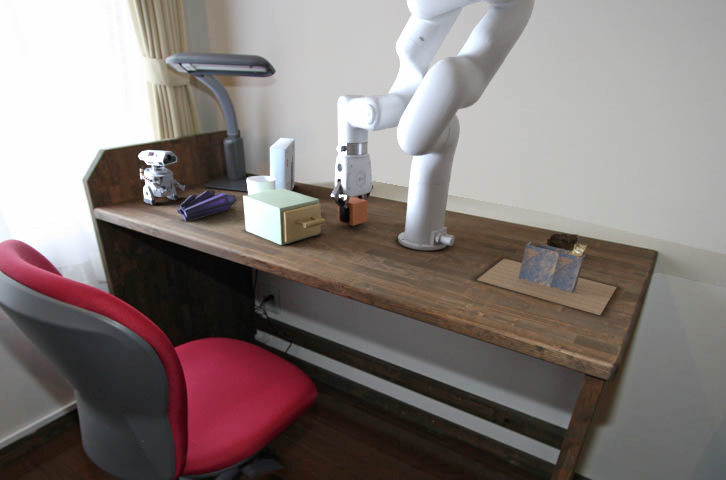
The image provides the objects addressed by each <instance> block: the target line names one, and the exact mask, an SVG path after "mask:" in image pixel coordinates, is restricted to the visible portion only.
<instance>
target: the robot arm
mask: <svg viewBox="0 0 726 480" xmlns="http://www.w3.org/2000/svg"><path fill="white" fill-rule="evenodd" d="M479 2H483V3H486V4H488V8H487V11H486V13H485V14H484V16H483V17H482V18H481V19H480V20H479V22H478V23H477V24H476V25H475V27H474V28H473V30H472V31H471V33H470V35H469V36H468V38H467V40H466V42H465V43H464V45H463V46H462V48H461V49H460V51H459V53H458V54H457V55H456V56H448V57H445V58H441V59H440V60H438V61H436V63H435V64H433V65H432V66H431V67H430V65H431V63H432V61H433V60H434V58H435V56H436V55H437V53H438V51H439V50H440V47H441V46H442V44H443V43H444V41H445V39H446V37H447V36H448V34H449V33H450V32H451V30H452V28H453V26H454V24H455V23H456V21H457V20H458V17H459V16H460V15H461V12H462V11H463V8H465V7H467V6H471V5H473V4H476V3H479ZM406 4H407V7H408V11H409V12H410V13H411V15H410V17H409V18H408V20H407V22H406V24H405V25H404V28H403V29H402V31H401V33H400V35H399V37H398V39H397V40H396V43H395V51H396V53H397V55H398V58H399V70H398V74H397V76H396V78H395V81H394V82H393V84H392V86H391V87H390V89H389V91H388V93H387V94H378V95H369V96H365V95H362V94H343V95H341V96H340V97H339V98H338V100H337V141H338V142H337V146H336V151H337V152H338V153H337V154H338V155H337V156H336V162H335V169H334V173H335V174H334V187H333V190H332V191H331V194H330V197H331V199H333V201H334V202H335V204H337V205H336V206H337V207H338V206H339V220H340V221H342V222H346V223H348V222H349V208H348V203H349V199H350V197H355V198H359V199H364V200H369V199H368V198H369V197H370V194H371V192H372V191H373V189H374V185H373V174H372V163H371V161H372V160H371V156H370V154H369V153H368V150H369V148H368V147H369V131H371V132H377V131H382V130H388V129H393V128H396V127H397V130H396V137H397V142H398V145H399V147H400V148H401V150H402V151H403V152H404V153H406V155H407V154H408V155H409V156H413V157H412V159H411V160H412V161H411V165H410V174H409V183H408V192H407V193H408V194H407V204H406V214H405V224H404V225H405V226H404V231H403V232H401V233H399V234H398V236H397V241H398V244H400V245H401V246H403V247H405V248H408V249H412V250H415V251H416V250H417V251H437V250H443V249H445V248H446V247H447V246H449V247H452V246H453V245H454V243H455V239H456V236H455V235H453V234H448V227H447V226H445V219H446V212H447V211H446V210H447V205H448V197H449V189H450V182H451V176H452V171H453V170H452V169H453V163H454V158H455V155H456V150H457V147H458V143H459V138H460V132H461V126H460V120H459V117H458V116H457V112H458V111H459V110H462V109H466V108H469V107H472V106H474V105H475V104H476V103H477V102H478V101H480V98H482V96H483V94H484V93H485V91H486V89H487V88H488V86H489V84H490V83H491V81H492V80H493V79H494V77H495V76H496V74H497V73H498V71H499V69H500V68H501V66H502V65H503V63H504V62H505V61H506V58H508V56H509V54H510V52H511V50H512V49H514V46H515V45H516V43H517V42H518V40H519V39H520V37H521V36H522V34H523V32H524V31H525V29H526V27H527V25H528V24H529V21H530V19H531V16H532V14H533V10H534V6H535V0H406ZM429 67H430V68H429ZM343 199H345V200H344V201H343ZM342 222H341V223H342ZM346 223H345V224H346Z"/></svg>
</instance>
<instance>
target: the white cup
mask: <svg viewBox="0 0 726 480" xmlns="http://www.w3.org/2000/svg"><path fill="white" fill-rule="evenodd" d="M246 185H247V195H250V194H255V193H260V192H265V191H270V190H275V189H276V186H275V178H274V177H270V175H253V176H248V177H246Z"/></svg>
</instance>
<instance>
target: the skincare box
mask: <svg viewBox="0 0 726 480" xmlns="http://www.w3.org/2000/svg"><path fill="white" fill-rule="evenodd" d="M295 150H296V138H290V137H289V138H288V137H280V138H279V139H278V140H277V141H275V143H273V144H271V146H270V147H269V176H270V177H274V178H275V186H276V189H281V188H283V189H286V190H290V191H293V189H294V188H295V167H296V166H295V163H296V162H295V159H296V156H295V155H296V152H295Z"/></svg>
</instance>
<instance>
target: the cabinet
mask: <svg viewBox="0 0 726 480" xmlns="http://www.w3.org/2000/svg"><path fill="white" fill-rule="evenodd" d="M242 199H243V211H244V213H243V214H244V224H245V231H246V232H248V233H250V234H253V235H255V236H257V237H261V238H262V239H265V240H267V241H270V242H272V243H275V244H277V245H280V246H285V245H287V244H292V243H295V242H298V241H301V240H304V239H309V238H311V237H316V236H319V235H320V233H318V234H314V235H311V236H307V237H304V238H301V239H297V240H294V241H290V242H287V243H286V242H284V241H283V218H282V212H283V211H285V210H289V209H294V208H298V207H302V206H306V205H311V204H312V205H314V204H320V199H319V198H317V197H312V196H309V195H305V194H303V193H299V192H296V191H293V190H292V191H290V190H286V189H283V188H281V189H275V190H270V191H265V192H260V193H255V194H250V195H248V194H246V195H242Z"/></svg>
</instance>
